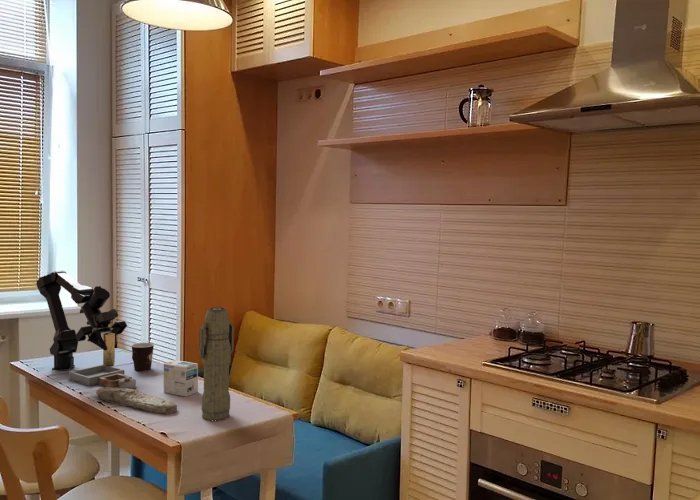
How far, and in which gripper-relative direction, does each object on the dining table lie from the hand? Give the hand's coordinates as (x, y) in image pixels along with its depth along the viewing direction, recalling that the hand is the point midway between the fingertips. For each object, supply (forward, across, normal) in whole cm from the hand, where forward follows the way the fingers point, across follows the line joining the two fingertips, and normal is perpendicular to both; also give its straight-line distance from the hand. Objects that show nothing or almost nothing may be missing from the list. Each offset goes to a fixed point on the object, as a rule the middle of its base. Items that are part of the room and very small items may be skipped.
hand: (111, 348), depth 232 cm
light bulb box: (+30, +9, -12) cm, 33 cm away
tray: (+3, 0, +16) cm, 16 cm away
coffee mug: (+4, +18, +14) cm, 23 cm away
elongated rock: (+29, -10, -10) cm, 32 cm away
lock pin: (+4, 0, +6) cm, 7 cm away
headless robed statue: (+49, -1, -32) cm, 59 cm away
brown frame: (+13, 0, +5) cm, 14 cm away
